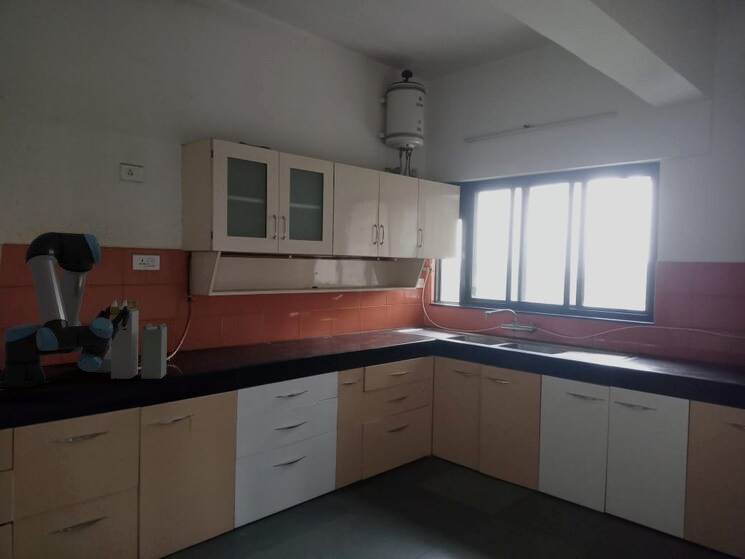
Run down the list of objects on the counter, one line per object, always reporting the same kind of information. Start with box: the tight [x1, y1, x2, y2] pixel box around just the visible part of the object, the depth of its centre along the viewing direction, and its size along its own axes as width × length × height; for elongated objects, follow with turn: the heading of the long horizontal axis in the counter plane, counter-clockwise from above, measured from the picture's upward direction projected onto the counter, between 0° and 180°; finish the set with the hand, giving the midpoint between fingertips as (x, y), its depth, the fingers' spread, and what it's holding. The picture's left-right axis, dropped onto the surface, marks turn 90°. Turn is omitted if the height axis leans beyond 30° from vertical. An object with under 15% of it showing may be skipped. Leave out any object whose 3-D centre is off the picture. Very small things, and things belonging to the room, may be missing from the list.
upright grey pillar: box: [140, 322, 168, 380], centre depth 217 cm, size 8×9×22 cm
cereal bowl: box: [93, 353, 111, 374], centre depth 224 cm, size 17×17×7 cm
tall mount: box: [110, 308, 140, 380], centre depth 215 cm, size 8×9×29 cm
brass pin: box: [110, 300, 139, 316], centre depth 212 cm, size 4×23×4 cm, turn 9°
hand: (120, 302), depth 209 cm, fingers closed on brass pin, 3 cm apart
